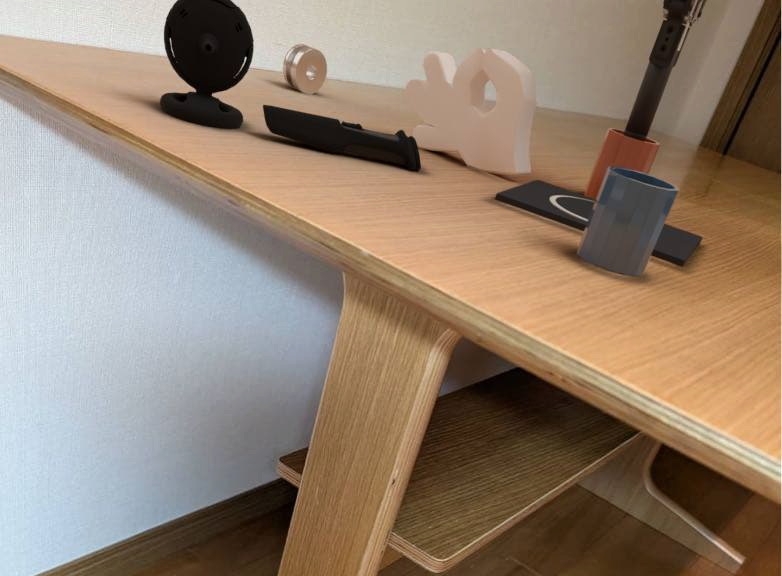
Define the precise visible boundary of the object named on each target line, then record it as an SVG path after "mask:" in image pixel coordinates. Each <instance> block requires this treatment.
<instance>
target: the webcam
mask: <svg viewBox="0 0 782 576" xmlns="http://www.w3.org/2000/svg"><path fill="white" fill-rule="evenodd" d="M254 42H255V40H254V36H253V31H252V27H251V25H250V23H249V21H248V19H247V16H246V14H245V13H244V11H243V10H242V9H241V7H239V6H238V5H237V4H236V3H235V2H233V0H176V1H175V2H174V3H173V5H172V7H171V8H170V10H169V11H168V13H167V15H166V18H165V22H164V26H163V43H164V50H165V53H166V56H167V59H168V61H169V63H170V66H171V67H172V69H173V70H174V72H175V73H176V74H177V76H178V77H179V78H180V79H181V80H182V81H183V82H184V83H186V84H187V85H188V86H190V87H191V88H193V89H194V90H195V91H188V92H174V91H173V92H166V93H163V94H162V95H161V97H160V99H159V105H160V109H161V110H162V111H163V112H164V113H166V114H167V115H169V116H171V117H174V118H175V119H179V120H182V121H185V122H188V123H191V124H196V125H200V126H204V127H209V128H216V129H224V130H235V129H238V128H240V127H241V126H242V125H243V122H244V116H243V113H242V111H241V110H240V109H238V108H236V107H235V106H233V105H231V104H228V103H225V102H223V101H222V100H220V99H219V98H218V97H215V96H214V95H213V94H217V93H222V92H225V91H229V90H230V89H232V88H234V87H235V86H237V85H238V84H239V83H240V82H241V81H242V80H243V79H244V78H245V76H246V75H247V73H248V72H249V70H250V69H249V68H250V66H251V64H252V62H253V58H254V57H253V56H254V49H255V48H254V47H255V46H254V45H255V43H254Z"/></svg>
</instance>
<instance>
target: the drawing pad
mask: <svg viewBox="0 0 782 576" xmlns="http://www.w3.org/2000/svg"><path fill="white" fill-rule="evenodd" d="M494 200H495V201H499V202H501V203H504V204H507V205H510V206H512V207H515V208H518V209H520V210H523V211H526V212H529V213H531V214H533V215H534V214H535V215H537V216H540V217H543V218H545V219H548V220H551V221H553V222H556V223H560V224H563V225H564V226H568V227H570V228H572V229H576V230H579V231H582V232H584V230H585V227H586V224H587V222H588V219H589V216H590V214H591V211H592V208H593V206H594V203H595V199H592V198H590V197H587V196H584V194H581V193H578V192H575V191H572V190H569V189H566V188H564V187H560V186H558V185H555V184H552V183H549V182H546V181H543V180H540V179H534V180H532V181H528V182H527V183H523V184H521V185H517V186H514V187H511V188H508V189H505V190H502V191H499V192H497V193H496V194H495V197H494ZM703 239H704V238H703V236H701V235H699V234H695V233H693V232H690V231H687V230H684V229H681V228H678V227H676V226H672V225H670V224H667V223H666V224H665V226H664V228H663V231H662V233H661V235H660V238H659V240H658V242H657V245H656V247H655V249H654V252H653V254H652V256H651V257H654V258H656V259H659V260H663V261H664V262H668V263H671V264H674V265H676V266H680V267H684V265H686V263H687V262H688V260H689V259H690V258H691V256H692V255H693V253H694V252H695V251H696V250H697V248H698V247H699V246H700V245H701V242H702V240H703Z"/></svg>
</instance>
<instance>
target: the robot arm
mask: <svg viewBox="0 0 782 576" xmlns="http://www.w3.org/2000/svg"><path fill="white" fill-rule="evenodd" d="M707 1H708V0H663V2H662V4H663V5H662V9H663V11H662V18H663V21H662V23H661V25H660V28H659V30H658V33H657V36H656V39H655V41H654V44H653V47H652V49H651V52H650V54H649V57H648V62H649V61H650V63H651V64H654V65H657V66H661V67H664V68H668V67H670V66H671V64H672V62H673V59H674V57H675V54H676V52H677V49H678V47H679V44H680V41H681V39H682V36H683V34H684V31H685V29H686V26H685V25H682V24H686V25H687V24H688V23H690V24H689V27H688V29H687V32H686V35H685V38H684V40H683V43H682V46H681V48H680V51H679V52H678V55H677V57H676V60H675V63H674V66H673V68H675V67H676V66H677V63H678V60H679V58H680V55H681V53H682V50H683V49H684V45H685V43H686V40H687V38H688V35H689V33H690V30H691V28H693V27H694V26H695V24H696V23H697V22H698V21H699V19H700V18H701V16H702V15H703V10H704V9H705V6H706V4H707ZM664 18H665V19H667V20H664Z"/></svg>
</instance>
